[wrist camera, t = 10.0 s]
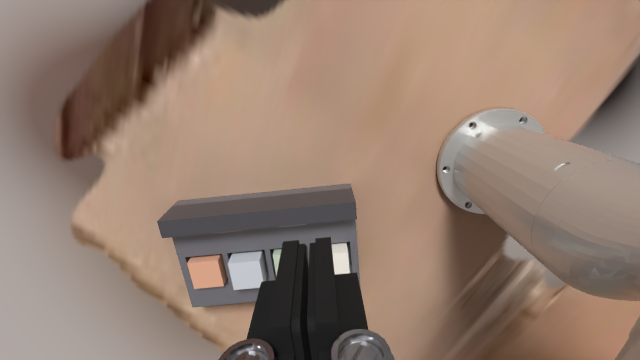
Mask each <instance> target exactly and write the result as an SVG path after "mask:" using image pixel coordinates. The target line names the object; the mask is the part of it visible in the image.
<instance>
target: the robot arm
mask: <svg viewBox="0 0 640 360" xmlns="http://www.w3.org/2000/svg"><path fill="white" fill-rule="evenodd" d="M520 118H521V119H520ZM519 120H520V121H519ZM470 123H471V126H469V124H470ZM444 166H445V169H443V168H444ZM437 177H438V181H439V184H440V187H441V189H442V190H443V192H444V194H445V195H446V196H447V197H448V198H449V199H450V201H451V202H453V203H454V204H455V205H456V206H458V207H459V208H461V209H463V210H465V211H468V212H472V213H475V214H486V215H488V216H489V217H490V218H491V219H492V220H493V221H494V222H495V223H497V224H498V225H499V226H500V227H501V228H502V229H503V230H505V231H506V232H507V233H508V234H509V235H510V236H511V237H513V238H514V239H515V240H516V241H517V242H518V243H519V244H520V245H521V246H523V247H524V248H525V249H526V250H527V251H528V252H529V253H530V254H532V255H533V256H534V257H535V258H536V259H537V260H538V261H539V262H541V263H542V264H543V265H544V266H545V267H546V268H547V269H548V270H550V271H551V272H552V273H553V274H554V275H555V276H557V277H558V278H559V279H561V280H562V281H563V282H565V283H566V284H568V285H570V286H571V287H573V288H575V289H577V290H580V291H582V292H585V293H587V294H590V295H593V296H598V297H602V298H608V299H615V300H626V301H640V164H639V163H636V162H633V161H629V160H626V159H623V158H620V157H616V156H613V155H610V154H607V153H604V152H600V151H597V150H594V149H590V148H587V147H584V146H582V145H578V144H574V143H571V142H568V141H565V140H562V139H558V138H555V137H552V136H549V135H547V134H546V132H545V130H544V128H543V127H542V126H541V124H540V123H539V122H538V121H537V120H536V119H534V118H533V117H532V116H530V115H529V114H526V113H524V112H522V111H519V110H515V109H510V108H492V109H487V110H484V111H480V112H477V113H475V114H473V115H471V116H469V117H468V118H466V119H465V120H463V121H462V122H461V123H459V124H458V125H457V126H456V127H455V128H454V129H453V130H452V131H451V132H450V134H449V135H448V137H447V138H446V140H445V141H444V143H443V145H442V147H441V149H440V152H439V156H438V160H437ZM466 202H467V203H466ZM219 360H395V359H394V356H393V354H392V352H391V350H390V347H389V345H388V344H387V342H386V341H385V339H384V338H382V337H381V336H380V335H379V334H377V333H375V332H373V331H370V330H368V326H367V321H366V315H365V310H364V305H363V300H362V295H361V290H360V285H359V280H358V275H357V272H356V273H346V274H335V272H334V263H333V253H332V244H331V237H324V238H315V243H310V248H309V267H308V259H307V252H306V245H305V244H300V243H299V240H294V241H284V242H283V244H282V249H281V254H280V260H279V265H278V271H277V276H276V280H271V281H262V282H261V285H260V288H259V292H258V296H257V300H256V304H255V308H254V312H253V316H252V320H251V324H250V328H249V332H248V336H247V339H246V340H243V341H240V342H237V343H235V344H234V345H232V346H230V347H229V348H228V349H227V350H226V351H225V352H224V353H223V354H222V355H221V357H220V358H219ZM615 360H640V316H639V318H638V320H637V321H636V323H635V325H634V327H633V328H632V330H631V332H630V334H629V339H628V340H627V342H626V343H625V345H624V346H623V348H622V350H621V351H620V353H619V354H618V356H617V357H616V359H615Z"/></svg>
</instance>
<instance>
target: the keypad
mask: <svg viewBox="0 0 640 360" xmlns="http://www.w3.org/2000/svg"><path fill="white" fill-rule="evenodd" d="M355 219H357V216H356V202H355V198H354V195H353V191H352V188H351V184H342V185H332V186H322V187H312V188H302V189H292V190H282V191H272V192H262V193H252V194H242V195H232V196H222V197H212V198H202V199H192V200H182V201H177V202H176V203H175V204H174V205H173V206H172V207H171V208H170V209H169V210H168V211H167V212H166V213H165V214H164V215H163V216H162V217H161V218H160V219H159V220H158V221H157V223H158V226H159V229H160V233H161V236H162V238H169V237H172V238H173V241H174V245H175V248H176V252H177V255H178V259H179V262H180V266H181V269H182V272H183V276H184V279H185V283H186V286H187V290H188V293H189V297H190V300H191V304H192V307H203V306H214V305H224V304H235V303H246V302H256V300H257V296H258V292H259V288H251V289H240V290H234V289H233V284H232V280H231V276H230V271H229V267H228V262H229V260H230V257H231V255H232V253H235V252H246V251H256V250H263V254H264V259H265V265H266V270H267V278H266V281H271V280H276V271H275V265H274V260H273V252H274V249H277V248H282V244H283V242H284V241H294V240H299V243H300V244H305V245H306V252H307V259H308V267H309V248H310V243H315V238H324V237H331V243H339V242H346V243H347V249H348V258H349V269H350V273H356V272H357V275H358V280H359V285H360V277H359V263H358V250H357V236H356V223H355ZM214 254H222V256H223V260H224V264H225V268H226V273H227V277H228V278H227V280H226V283H225V285H224V286H221V287H210V288H200V289H194V287H193V283H192V279H191V276H190V272H189V269H188V265H187V263H188V261H189V259H190V258H191V257H194V256H204V255H214Z"/></svg>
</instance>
